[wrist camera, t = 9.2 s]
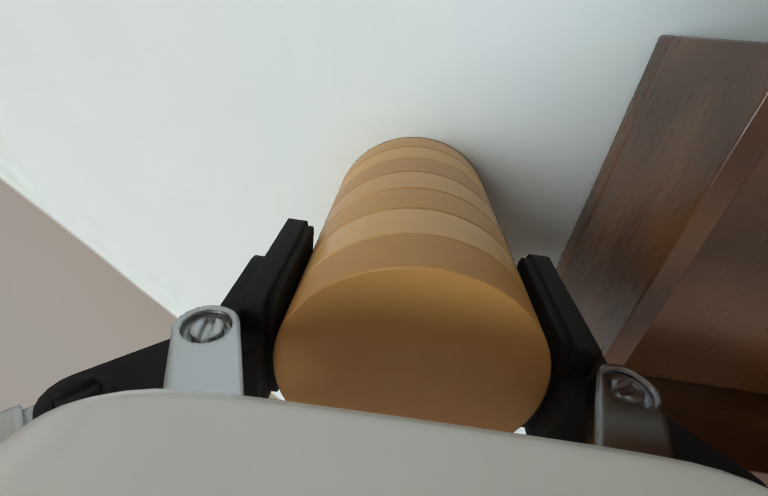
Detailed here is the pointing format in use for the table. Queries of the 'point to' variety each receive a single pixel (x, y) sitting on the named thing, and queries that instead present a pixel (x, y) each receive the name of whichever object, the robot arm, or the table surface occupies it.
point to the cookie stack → (414, 300)
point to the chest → (687, 242)
